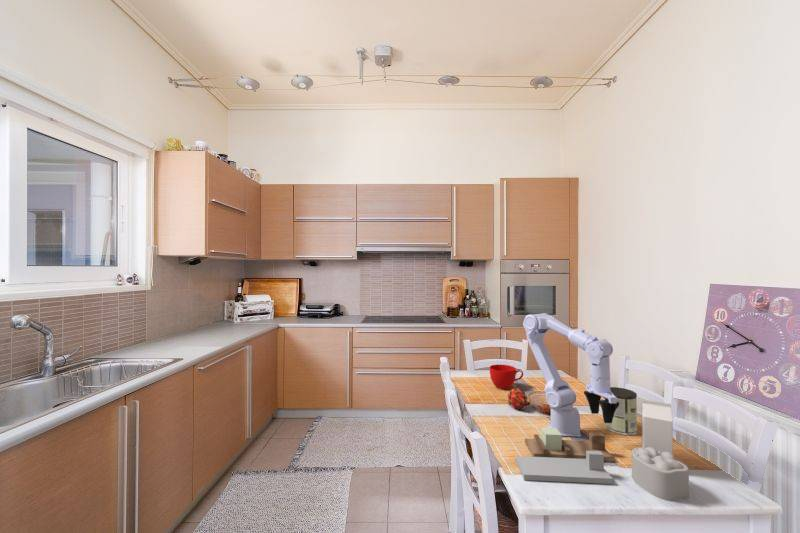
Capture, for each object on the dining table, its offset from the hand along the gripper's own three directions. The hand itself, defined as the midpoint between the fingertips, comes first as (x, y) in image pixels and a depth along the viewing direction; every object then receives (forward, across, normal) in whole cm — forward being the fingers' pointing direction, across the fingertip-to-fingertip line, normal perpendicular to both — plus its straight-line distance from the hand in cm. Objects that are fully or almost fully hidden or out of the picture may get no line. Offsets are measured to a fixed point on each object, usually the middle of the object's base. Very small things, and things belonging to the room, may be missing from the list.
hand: (601, 417), depth 116 cm
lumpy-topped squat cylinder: (+11, +19, +4) cm, 22 cm away
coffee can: (+10, -15, +16) cm, 24 cm away
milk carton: (+11, +8, +12) cm, 18 cm away
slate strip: (+10, +13, -20) cm, 26 cm away
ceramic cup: (+10, -63, -13) cm, 65 cm away
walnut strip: (+10, +2, -12) cm, 16 cm away
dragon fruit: (+10, -36, -16) cm, 40 cm away
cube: (+9, +1, -17) cm, 19 cm away
